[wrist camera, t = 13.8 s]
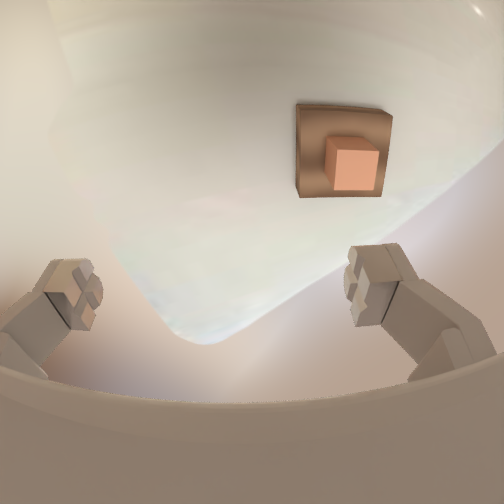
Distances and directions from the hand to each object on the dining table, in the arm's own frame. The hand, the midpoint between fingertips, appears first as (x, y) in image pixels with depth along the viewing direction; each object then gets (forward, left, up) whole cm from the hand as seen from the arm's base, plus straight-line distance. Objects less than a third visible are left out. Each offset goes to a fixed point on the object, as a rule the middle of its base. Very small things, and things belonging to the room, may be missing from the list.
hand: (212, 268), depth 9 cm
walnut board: (+7, +13, -32) cm, 35 cm away
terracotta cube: (+7, +13, -28) cm, 31 cm away
